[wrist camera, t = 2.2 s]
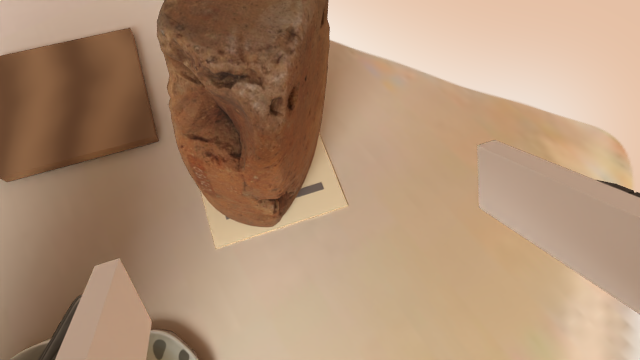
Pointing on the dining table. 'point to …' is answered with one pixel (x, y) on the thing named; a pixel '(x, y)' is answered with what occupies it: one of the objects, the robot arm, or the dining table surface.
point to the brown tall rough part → (246, 98)
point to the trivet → (72, 104)
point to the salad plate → (162, 355)
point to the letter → (310, 202)
